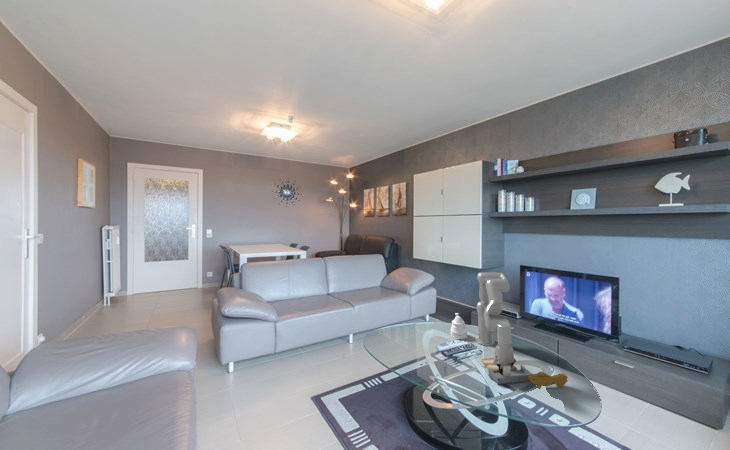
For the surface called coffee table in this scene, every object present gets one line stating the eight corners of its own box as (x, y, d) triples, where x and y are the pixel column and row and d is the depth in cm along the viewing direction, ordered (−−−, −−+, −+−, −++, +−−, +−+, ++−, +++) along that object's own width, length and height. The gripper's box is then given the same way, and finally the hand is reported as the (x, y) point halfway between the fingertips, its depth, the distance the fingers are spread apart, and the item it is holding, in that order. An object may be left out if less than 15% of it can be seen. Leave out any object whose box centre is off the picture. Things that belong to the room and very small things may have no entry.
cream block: (499, 372, 178) (499, 362, 178) (506, 371, 178) (506, 362, 178) (503, 376, 173) (503, 366, 173) (510, 375, 174) (510, 366, 174)
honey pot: (447, 334, 240) (446, 312, 239) (460, 331, 243) (460, 310, 242) (456, 340, 227) (456, 318, 226) (470, 337, 231) (470, 315, 230)
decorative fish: (528, 387, 164) (532, 370, 164) (525, 384, 167) (528, 367, 167) (566, 393, 165) (569, 376, 165) (562, 390, 168) (565, 373, 168)
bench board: (481, 361, 195) (481, 359, 195) (503, 359, 197) (503, 356, 197) (492, 373, 182) (492, 370, 181) (516, 370, 183) (516, 367, 183)
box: (488, 374, 181) (488, 368, 181) (521, 370, 183) (521, 364, 183) (498, 385, 170) (498, 378, 170) (533, 381, 172) (533, 374, 172)
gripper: (513, 340, 179) (514, 368, 180) (487, 342, 178) (488, 371, 179) (521, 345, 172) (521, 375, 173) (494, 348, 170) (495, 378, 171)
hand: (504, 373), depth 176 cm, fingers closed on cream block, 4 cm apart
